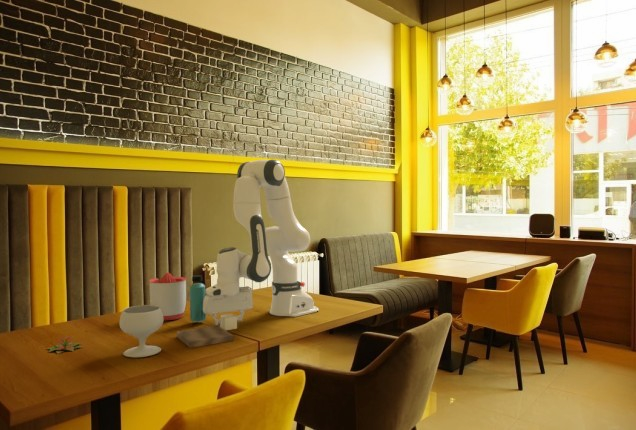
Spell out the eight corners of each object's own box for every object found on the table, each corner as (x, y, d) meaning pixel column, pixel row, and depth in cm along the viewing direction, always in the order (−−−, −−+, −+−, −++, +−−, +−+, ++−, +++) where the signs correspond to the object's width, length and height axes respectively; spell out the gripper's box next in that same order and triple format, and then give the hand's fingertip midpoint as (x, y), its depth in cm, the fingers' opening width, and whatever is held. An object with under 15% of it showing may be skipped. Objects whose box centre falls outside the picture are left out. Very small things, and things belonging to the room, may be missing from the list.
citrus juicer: (179, 311, 223) (178, 268, 222) (192, 319, 209) (191, 272, 208) (144, 316, 214) (143, 271, 214) (155, 324, 200) (154, 276, 199)
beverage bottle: (202, 325, 197) (201, 277, 197) (187, 324, 199) (186, 276, 198) (209, 321, 204) (208, 274, 203) (194, 320, 205) (193, 274, 204)
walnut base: (217, 330, 190) (217, 325, 190) (233, 340, 177) (232, 335, 176) (177, 336, 182) (176, 331, 182) (189, 348, 168) (189, 342, 168)
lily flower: (74, 342, 177) (73, 330, 177) (90, 348, 170) (90, 335, 170) (39, 351, 168) (38, 338, 168) (55, 357, 161) (54, 344, 160)
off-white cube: (232, 325, 197) (232, 313, 197) (237, 328, 193) (236, 316, 193) (220, 327, 194) (220, 315, 194) (225, 330, 190) (224, 318, 190)
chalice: (158, 343, 173) (157, 302, 173) (169, 354, 161) (168, 310, 161) (116, 350, 166) (115, 307, 165) (124, 362, 154) (123, 315, 153)
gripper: (249, 284, 201) (249, 317, 202) (201, 289, 190) (201, 324, 191) (255, 286, 196) (255, 320, 196) (206, 292, 185) (207, 328, 186)
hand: (228, 322), depth 193 cm, fingers open, 8 cm apart
